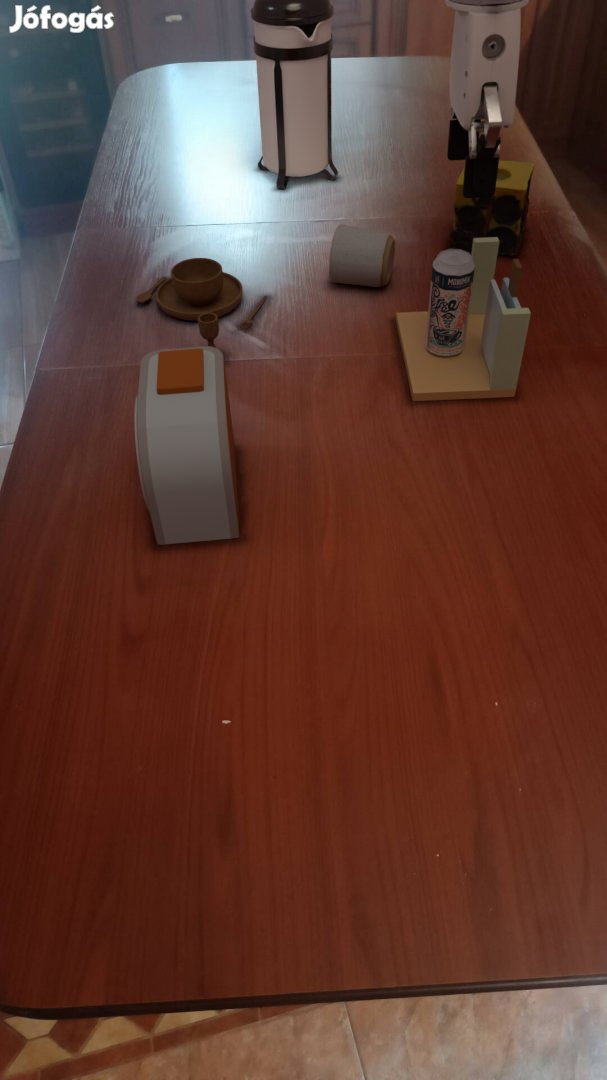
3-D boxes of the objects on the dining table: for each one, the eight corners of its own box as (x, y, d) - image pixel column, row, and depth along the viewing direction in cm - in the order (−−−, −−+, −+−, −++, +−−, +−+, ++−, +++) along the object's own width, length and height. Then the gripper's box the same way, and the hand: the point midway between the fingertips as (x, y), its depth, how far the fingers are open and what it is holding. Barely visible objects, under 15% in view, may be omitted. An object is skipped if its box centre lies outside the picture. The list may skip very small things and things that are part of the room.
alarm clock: (158, 449, 89) (136, 343, 79) (234, 443, 90) (222, 337, 80) (154, 545, 79) (128, 437, 69) (240, 537, 79) (226, 429, 69)
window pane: (497, 343, 99) (513, 247, 90) (509, 376, 94) (527, 279, 85) (492, 343, 99) (508, 247, 90) (504, 376, 94) (522, 279, 85)
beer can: (423, 357, 98) (432, 266, 89) (425, 336, 101) (434, 246, 93) (463, 360, 97) (475, 268, 89) (464, 339, 101) (476, 248, 92)
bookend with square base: (485, 316, 106) (497, 236, 99) (514, 397, 94) (531, 313, 86) (395, 320, 106) (400, 241, 99) (412, 401, 94) (419, 317, 86)
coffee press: (356, 162, 144) (360, -41, 122) (315, 197, 134) (312, -17, 112) (272, 148, 150) (261, -48, 128) (227, 180, 140) (207, -26, 118)
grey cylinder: (385, 298, 110) (388, 244, 105) (327, 291, 112) (327, 238, 107) (398, 263, 118) (402, 211, 112) (344, 257, 119) (345, 206, 114)
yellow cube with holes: (525, 228, 124) (537, 161, 117) (517, 258, 117) (529, 189, 110) (459, 221, 126) (467, 155, 119) (448, 250, 120) (455, 182, 112)
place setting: (275, 289, 113) (273, 249, 109) (223, 367, 100) (218, 326, 96) (162, 274, 117) (156, 235, 113) (98, 347, 104) (88, 306, 100)
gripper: (554, 4, 66) (523, 210, 78) (509, -41, 78) (489, 143, 90) (463, 11, 66) (447, 215, 78) (432, -35, 78) (422, 148, 90)
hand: (469, 176), depth 84 cm, fingers open, 9 cm apart
